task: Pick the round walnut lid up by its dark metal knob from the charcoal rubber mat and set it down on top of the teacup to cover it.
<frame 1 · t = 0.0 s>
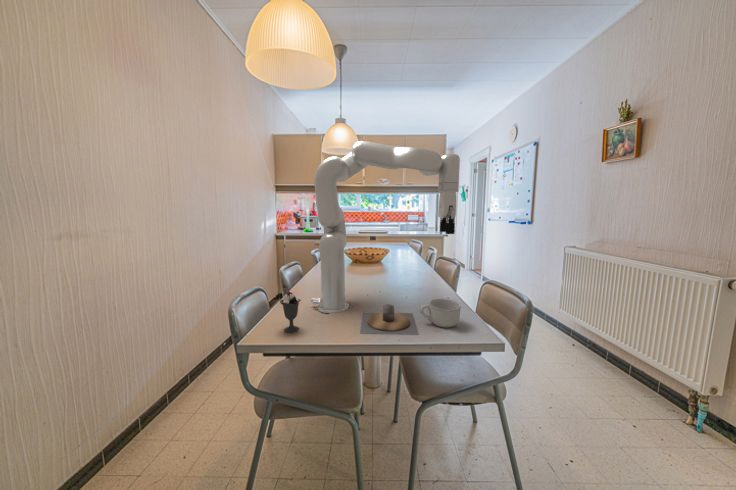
hand: (446, 232, 112), 31 cm above the table, tool pointing down, fingers open, 9 cm apart
teacup: (439, 325, 101), on the table
mat: (388, 323, 102), on the table
lid: (388, 322, 102), resting on mat
sundae: (291, 330, 97), on the table
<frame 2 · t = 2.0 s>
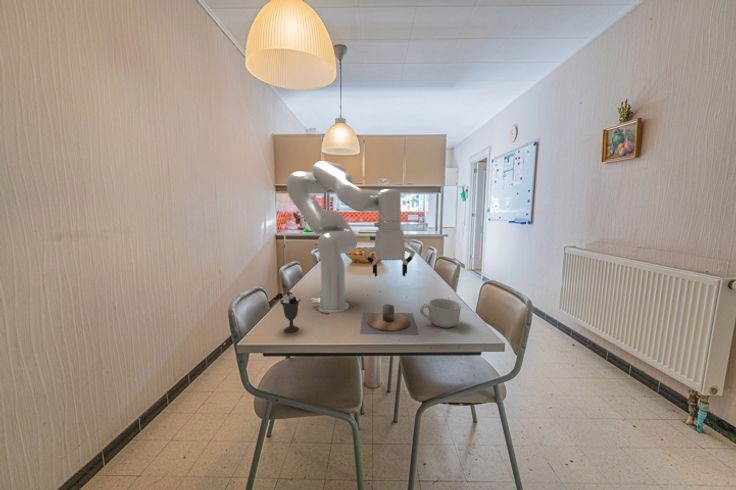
hand: (389, 275, 99), 18 cm above the table, tool pointing down, fingers open, 9 cm apart
nothing on the table moved.
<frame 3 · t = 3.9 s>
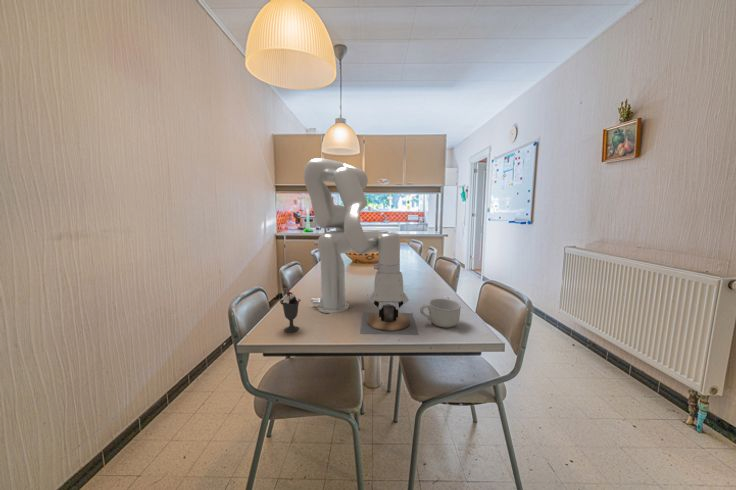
hand: (388, 318, 102), 2 cm above the table, tool pointing down, fingers closed on lid, 4 cm apart
lid: (388, 322, 102), resting on mat, touching gripper
everything else where it was.
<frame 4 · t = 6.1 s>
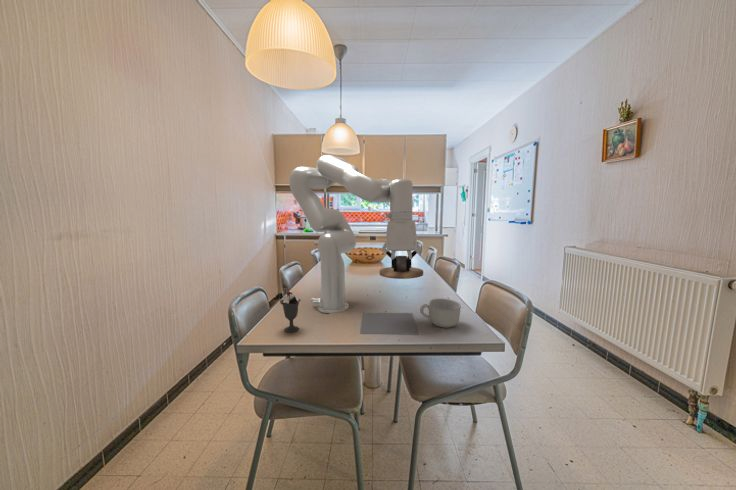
hand: (401, 269, 99), 20 cm above the table, tool pointing down, fingers closed on lid, 4 cm apart
lid: (401, 273, 99), point 18 cm above the table, touching gripper
everything else where it was.
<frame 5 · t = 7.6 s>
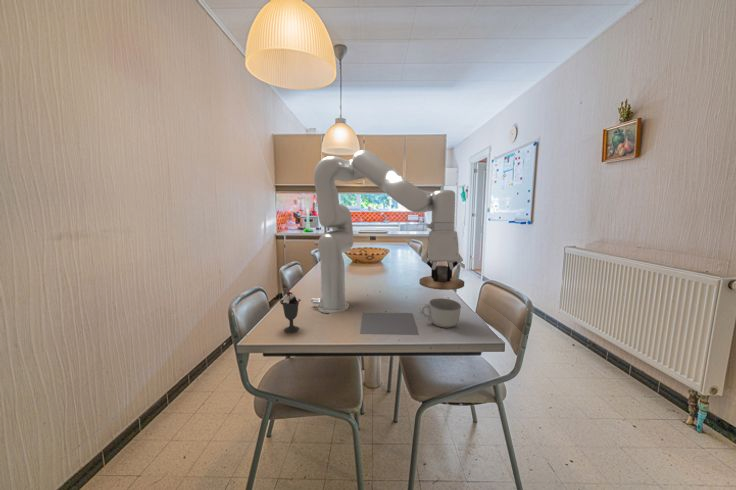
hand: (441, 279, 99), 16 cm above the table, tool pointing down, fingers closed on lid, 4 cm apart
lid: (441, 283, 99), point 15 cm above the table, touching gripper
everything else where it was.
when the fingers open (12 cm above the table, at t = 8.6 s): lid drops 2 cm, resting on teacup.
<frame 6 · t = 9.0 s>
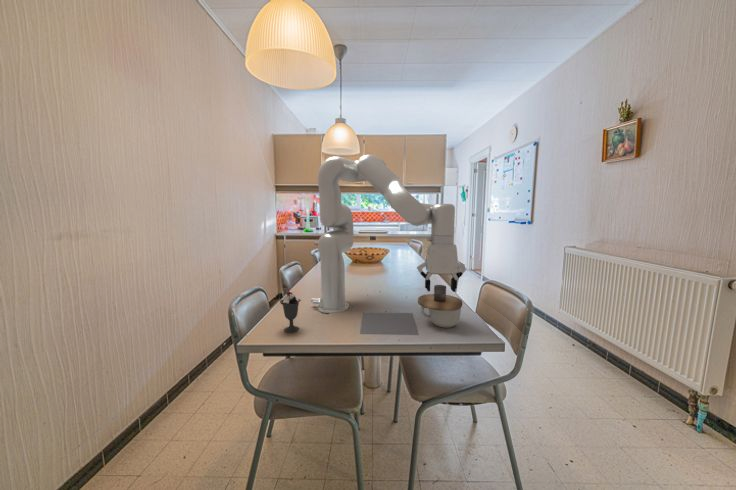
hand: (440, 290, 100), 12 cm above the table, tool pointing down, fingers open, 8 cm apart
teacup: (439, 325, 101), on the table, touching lid
lid: (439, 303, 100), point 8 cm above the table, touching teacup
everything else where it was.
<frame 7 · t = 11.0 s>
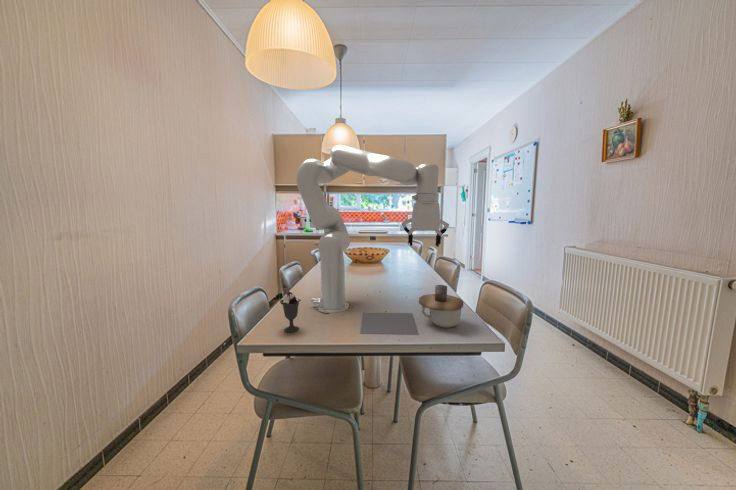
hand: (424, 245, 107), 27 cm above the table, tool pointing down, fingers open, 9 cm apart
nothing on the table moved.
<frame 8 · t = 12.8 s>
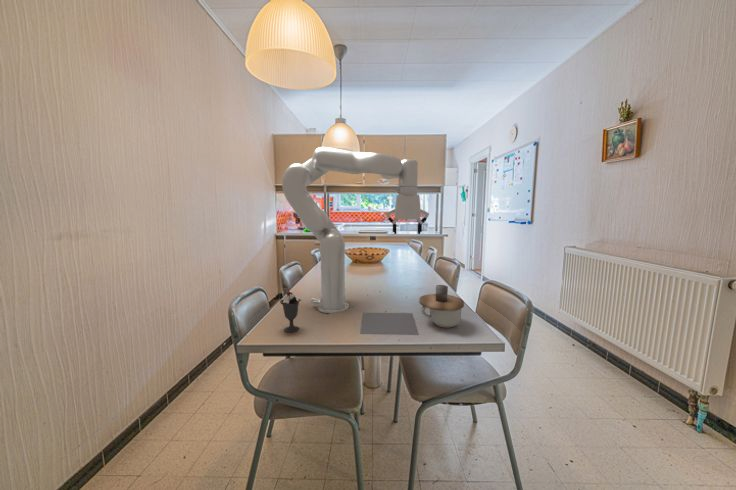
hand: (407, 233, 118), 30 cm above the table, tool pointing down, fingers open, 9 cm apart
nothing on the table moved.
at the end: lid 0.2 cm from the teacup (horizontally); lid point 7.9 cm above the table; lid tilted 0° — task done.
